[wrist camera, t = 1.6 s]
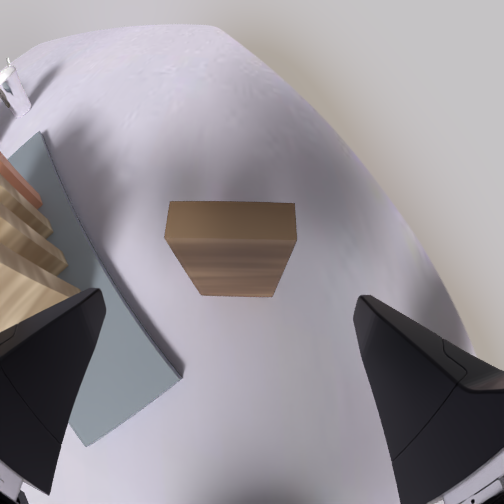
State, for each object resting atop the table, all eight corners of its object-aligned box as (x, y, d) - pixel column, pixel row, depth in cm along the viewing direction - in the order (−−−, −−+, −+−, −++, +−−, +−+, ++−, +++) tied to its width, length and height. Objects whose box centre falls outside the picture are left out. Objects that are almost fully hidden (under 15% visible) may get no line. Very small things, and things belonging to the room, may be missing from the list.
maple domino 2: (68, 265, 19) (-14, 205, 10) (31, 301, 18) (-55, 260, 9) (62, 251, 20) (-15, 188, 10) (25, 286, 18) (-56, 242, 9)
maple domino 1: (53, 232, 20) (-16, 167, 11) (18, 266, 19) (-56, 218, 10) (48, 220, 21) (-17, 155, 11) (15, 253, 19) (-55, 203, 10)
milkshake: (40, 94, 30) (17, 51, 21) (28, 115, 28) (1, 70, 19) (21, 104, 30) (-2, 63, 20) (9, 125, 28) (-18, 83, 18)
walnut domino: (272, 296, 20) (296, 240, 11) (201, 295, 20) (164, 237, 10) (271, 275, 20) (294, 203, 11) (202, 273, 20) (169, 201, 11)
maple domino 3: (89, 306, 18) (-4, 259, 9) (49, 342, 17) (-48, 317, 7) (80, 289, 18) (-9, 236, 9) (41, 325, 17) (-52, 293, 8)
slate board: (182, 378, 18) (179, 379, 17) (91, 444, 15) (85, 447, 14) (42, 135, 26) (39, 130, 25) (-10, 185, 23) (-14, 181, 22)
